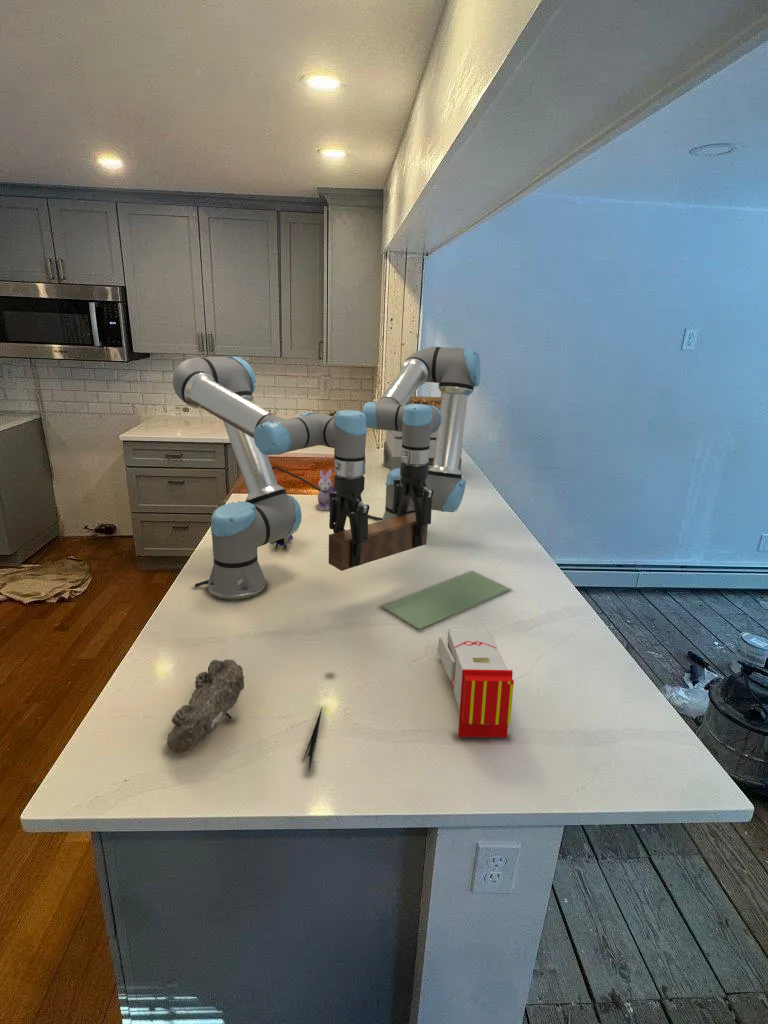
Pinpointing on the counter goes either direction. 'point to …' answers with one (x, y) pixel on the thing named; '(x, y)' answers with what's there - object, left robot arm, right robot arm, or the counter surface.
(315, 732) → the feather
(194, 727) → the fossil
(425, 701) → the counter surface
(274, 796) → the counter surface
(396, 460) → the grey slatted box
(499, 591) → the mat
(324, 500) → the figurine
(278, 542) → the figurine character
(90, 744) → the counter surface
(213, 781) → the counter surface
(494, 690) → the toy
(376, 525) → the walnut box
